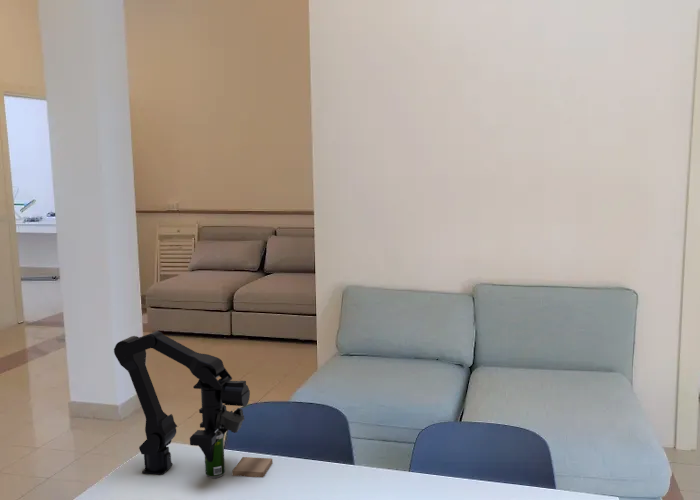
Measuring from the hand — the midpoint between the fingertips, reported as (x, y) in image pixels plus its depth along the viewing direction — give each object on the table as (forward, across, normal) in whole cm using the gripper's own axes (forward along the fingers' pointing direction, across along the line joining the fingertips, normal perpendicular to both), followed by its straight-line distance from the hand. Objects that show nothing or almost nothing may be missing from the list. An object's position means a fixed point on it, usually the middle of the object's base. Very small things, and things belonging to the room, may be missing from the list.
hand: (214, 457), depth 181 cm
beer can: (+5, 0, 0) cm, 5 cm away
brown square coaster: (+6, +4, -10) cm, 12 cm away
